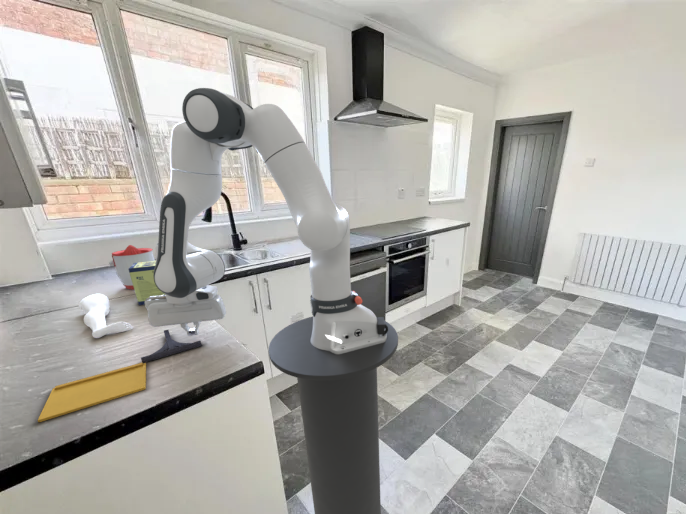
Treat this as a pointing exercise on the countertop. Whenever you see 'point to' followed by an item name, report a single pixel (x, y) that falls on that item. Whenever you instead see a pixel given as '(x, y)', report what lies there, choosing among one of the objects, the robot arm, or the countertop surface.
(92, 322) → the leg
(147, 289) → the protein box
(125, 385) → the tray
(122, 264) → the citrus juicer
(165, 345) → the bracket
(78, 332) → the countertop surface
